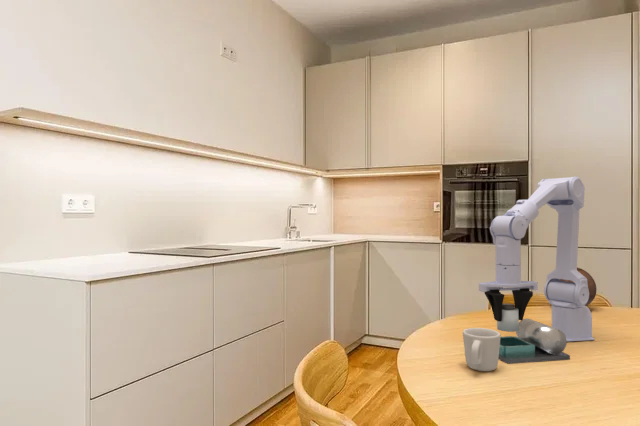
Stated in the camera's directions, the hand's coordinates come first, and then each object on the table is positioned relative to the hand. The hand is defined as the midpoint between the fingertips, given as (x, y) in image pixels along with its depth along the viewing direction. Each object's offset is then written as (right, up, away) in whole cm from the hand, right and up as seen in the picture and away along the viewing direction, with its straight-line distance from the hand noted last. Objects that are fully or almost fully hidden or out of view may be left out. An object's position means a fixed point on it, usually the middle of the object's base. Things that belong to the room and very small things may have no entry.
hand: (508, 320), depth 110 cm
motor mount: (+3, -8, +1) cm, 9 cm away
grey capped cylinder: (0, -2, 0) cm, 2 cm away
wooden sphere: (+44, -8, +51) cm, 68 cm away
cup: (-11, -9, -11) cm, 18 cm away
